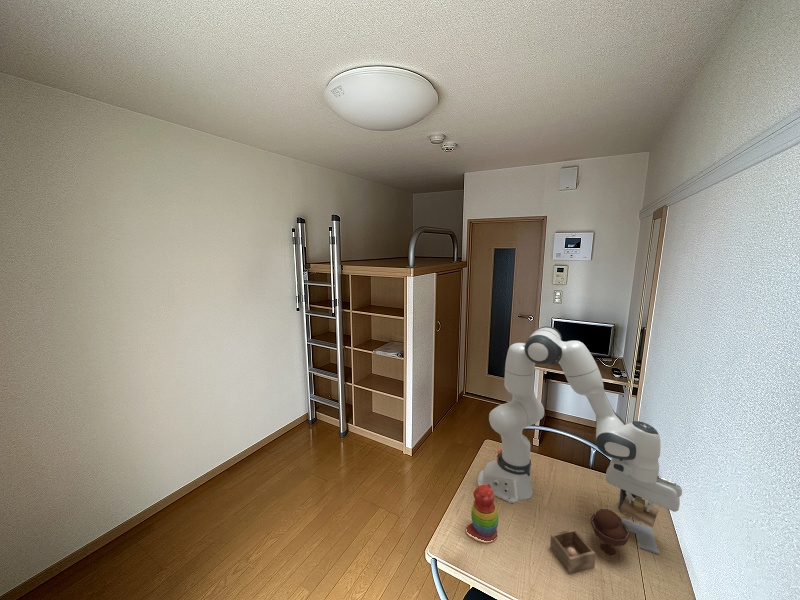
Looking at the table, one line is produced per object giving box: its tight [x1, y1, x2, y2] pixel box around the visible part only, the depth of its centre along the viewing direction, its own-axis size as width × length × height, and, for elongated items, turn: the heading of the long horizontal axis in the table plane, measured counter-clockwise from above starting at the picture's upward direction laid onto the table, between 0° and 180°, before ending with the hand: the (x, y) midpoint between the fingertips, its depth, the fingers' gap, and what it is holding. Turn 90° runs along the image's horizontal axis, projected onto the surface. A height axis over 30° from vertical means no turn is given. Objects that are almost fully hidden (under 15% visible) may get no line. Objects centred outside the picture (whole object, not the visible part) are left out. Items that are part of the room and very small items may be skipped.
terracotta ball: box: [566, 547, 577, 556], centre depth 103 cm, size 3×3×3 cm
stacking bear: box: [465, 484, 499, 541], centre depth 113 cm, size 11×10×18 cm
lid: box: [619, 496, 659, 528], centre depth 109 cm, size 9×9×4 cm
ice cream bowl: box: [589, 508, 631, 557], centre depth 104 cm, size 11×11×15 cm
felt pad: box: [620, 517, 660, 555], centre depth 111 cm, size 11×11×1 cm
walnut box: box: [549, 528, 596, 575], centre depth 103 cm, size 9×9×6 cm
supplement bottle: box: [618, 488, 643, 509], centre depth 121 cm, size 7×7×12 cm
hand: (639, 506), depth 109 cm, fingers closed on lid, 3 cm apart
